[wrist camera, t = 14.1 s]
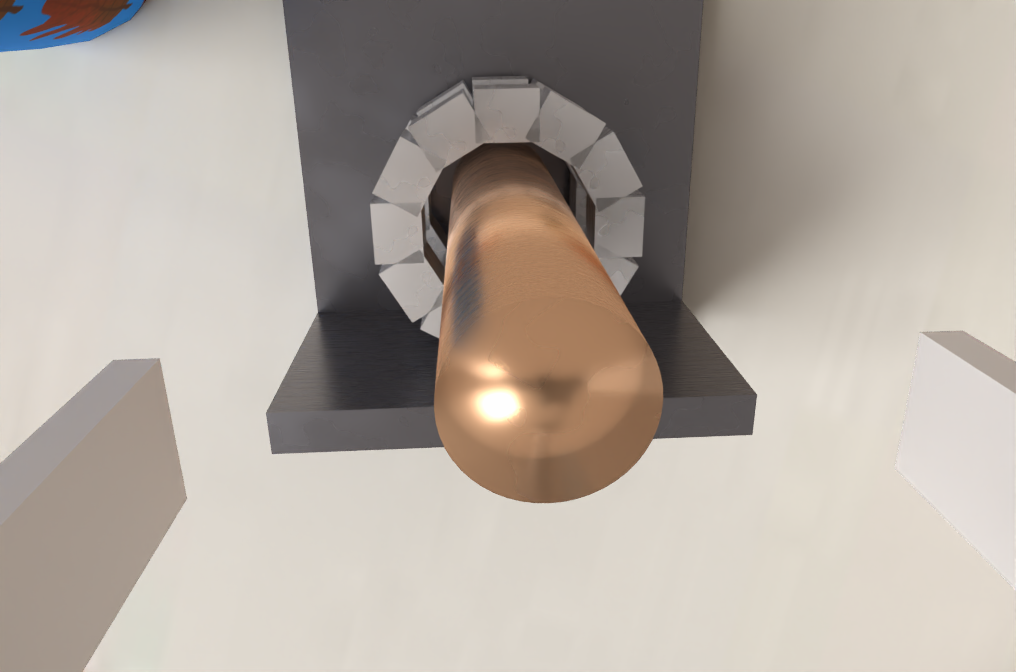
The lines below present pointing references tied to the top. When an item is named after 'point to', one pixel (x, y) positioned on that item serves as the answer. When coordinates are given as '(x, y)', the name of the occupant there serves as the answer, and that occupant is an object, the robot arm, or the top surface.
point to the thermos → (59, 21)
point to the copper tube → (535, 341)
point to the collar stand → (428, 189)
